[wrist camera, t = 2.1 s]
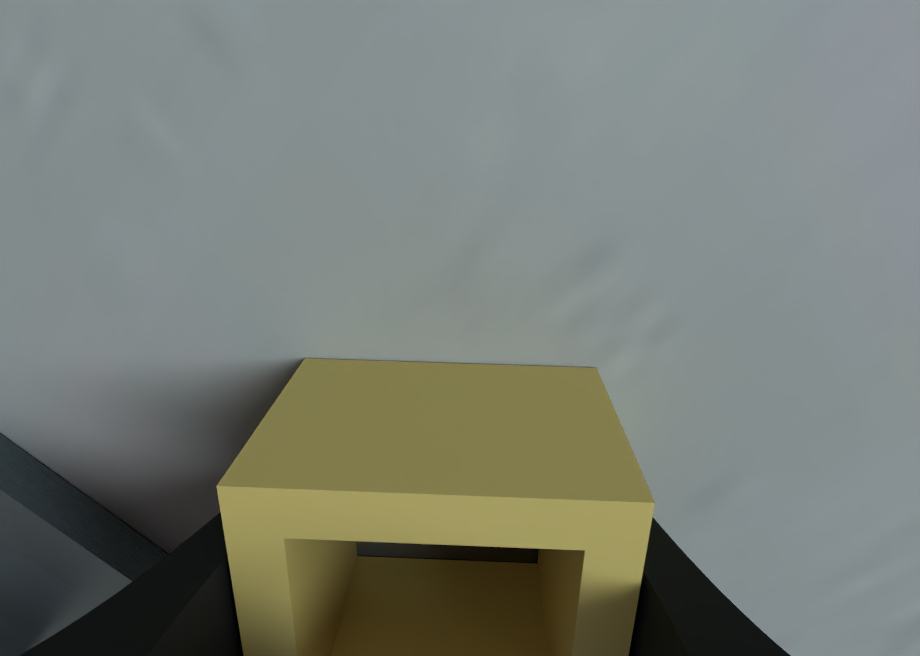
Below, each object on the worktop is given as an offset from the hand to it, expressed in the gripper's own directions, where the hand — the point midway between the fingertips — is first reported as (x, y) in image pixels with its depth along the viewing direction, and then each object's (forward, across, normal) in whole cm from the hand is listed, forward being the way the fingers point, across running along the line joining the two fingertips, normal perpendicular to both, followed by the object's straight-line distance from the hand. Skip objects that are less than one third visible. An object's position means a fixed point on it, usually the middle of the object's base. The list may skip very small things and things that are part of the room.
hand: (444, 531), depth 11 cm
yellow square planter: (+1, 0, 0) cm, 1 cm away
